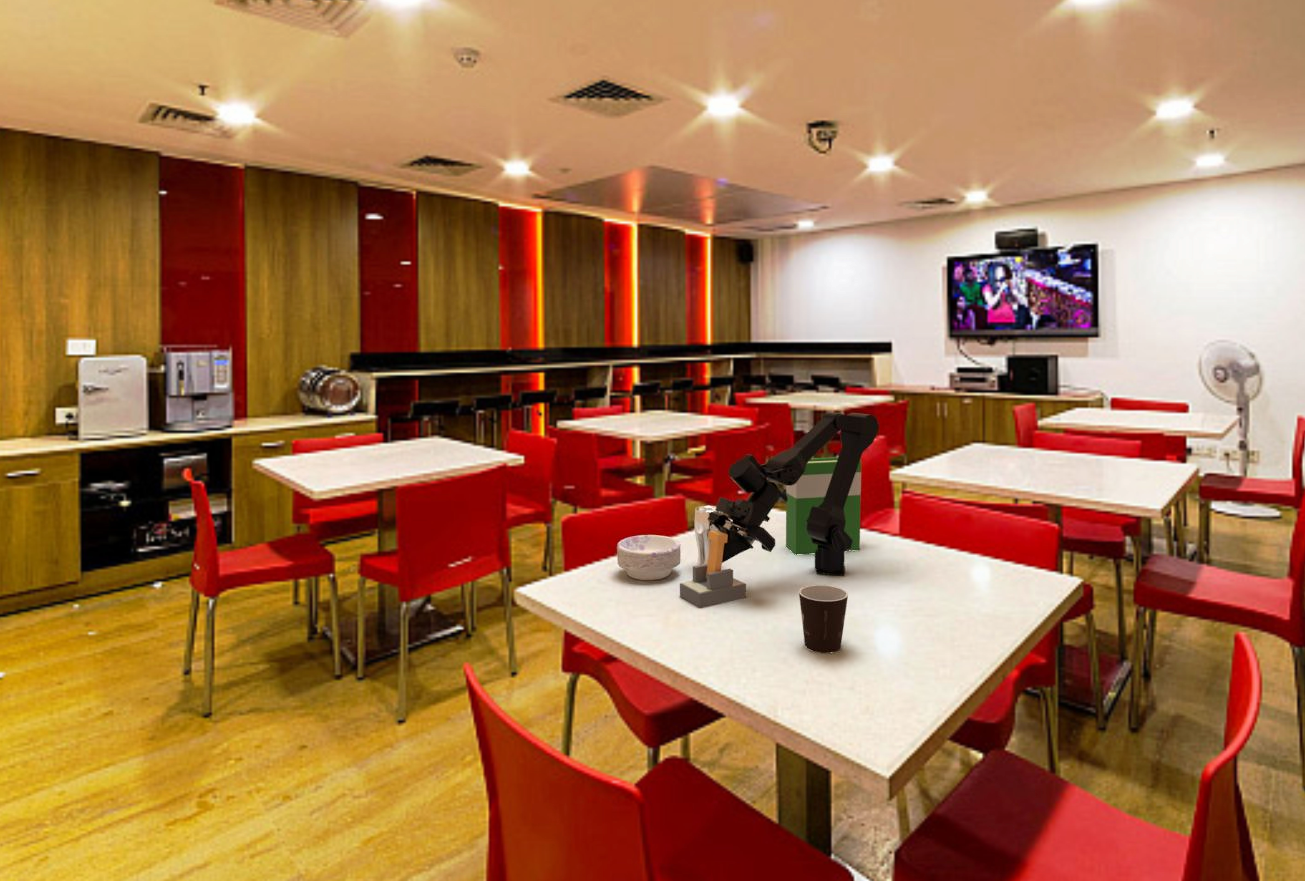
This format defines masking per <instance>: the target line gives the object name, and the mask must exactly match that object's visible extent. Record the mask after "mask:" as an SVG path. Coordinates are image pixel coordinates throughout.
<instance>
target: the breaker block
mask: <svg viewBox="0 0 1305 881" xmlns="http://www.w3.org/2000/svg"><path fill="white" fill-rule="evenodd" d="M707 565H708V564H703V565H698V566H697V565H693V566H692V580H690V581H686V582H680V583H679V597H680V598H681V599H683V600H685V601H687V602H689V603H690V604H692V605H694V606H696V607H697V608H698V609H701V608H705V607H710V606H714V605H718V604H723V603H727V602H731V601H735V600H741V599H745V598H747V583H745V582H743V581H740V580H738V579H736V578H734V570H733V569H732V568H727V569H726V568H725V569H721V570H720V571H715V572H710V573H707ZM706 573H707V578H706Z"/></svg>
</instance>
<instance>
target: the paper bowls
mask: <svg viewBox="0 0 1305 881" xmlns="http://www.w3.org/2000/svg"><path fill="white" fill-rule="evenodd" d="M616 550H617V551H616V552H617V557H616V558H617V565H618V566H619V567H620V568H621V569H624V570H625V571H626V573H627V575H628V576H629V577H631V578H632V579H635V580H640V581H656V580H657V581H658V580H661V579H665V578H667V577H668V576H669V575H670V574H671V573H672V571H673V569H674V568H677V567H678V566H679V565H680V564H681V560H682V559H681V543H680V541H679V540H678V539H676V538H673V537H670V536H666V535H656V534H646V535H645V534H641V535H635V536H629V537H626V538H624V539H621V540H620V541H619V542H618V543H617V545H616Z"/></svg>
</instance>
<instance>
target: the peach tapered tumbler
mask: <svg viewBox="0 0 1305 881" xmlns="http://www.w3.org/2000/svg"><path fill="white" fill-rule="evenodd" d="M716 507H717V505H701V506H697V507H695V509H694V513H695V514H694V535H695V541H696V547H697V554H698V557H697V561H696V562H697V564H696V566H698V565H703V564H708V556H709V548H710V540H709V539H708V533H709V531H719V530H718V529H717V528H716V527H715V526H714V525H713V524H712V523H710V522H709V521H708V517H709V516H710V515H711V513H712V512H718V511H716V510H715V509H716ZM719 513H722V512H721V511H719ZM722 514H723V513H722ZM722 568H723V566H721V569H722Z"/></svg>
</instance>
